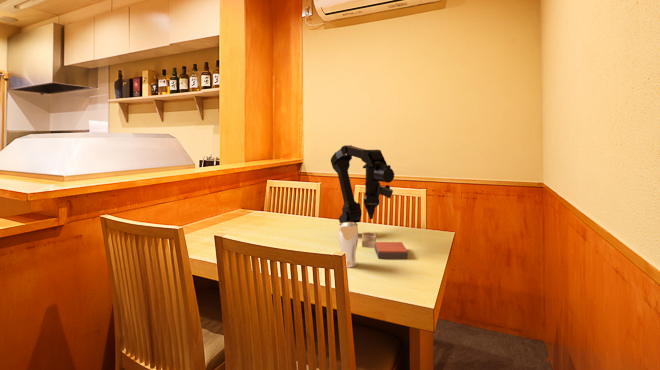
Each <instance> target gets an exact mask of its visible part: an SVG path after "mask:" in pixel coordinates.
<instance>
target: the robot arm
mask: <svg viewBox="0 0 660 370" xmlns="http://www.w3.org/2000/svg"><path fill="white" fill-rule="evenodd" d="M353 157H355V158H358V159H361V162H363V163H365V164H364V165H363V166H362V169H365V182H364V185H365V188H364V191H365V192H364V196H363V204H364V205H363V206H364V207H365V210H366V212H367V214H368V217H369V220H373V219H374V215H375V210H376V208H377V207H378V206H379V205H380V199H381V198H380V196H384V197H386V199H391V198H392V195H393V192H394V191H393V189H391V186H390V185H389V183H391V182H393V180H394V179H395V171H394V170H393V168H391V165H390V164H387V161H386V160H385V157H384V155H383V153H382V151H381V150H380V149H365V148H361V147H357V146H354V145H352V144H351V145H342V146H341V147H340V149H338V150H337V151H335V152H334V154H333V155H332V156H331V157H330V163H331V167H332V168H333V170H334V172H336V174H337V177H338V181H339V185H340V191H341V195H342V200H343V204H342V205H343V206H342V208H341V212H342V213H341V215H340V216H339V217H338V220H339V221H338V222H339V224H340V223H343V222H354V223H357V224H358V223H360V222H361V219H362V218H361V217H362V216H363V215H362V212H363V211H362V209H361V204H360V202H356V200H355V197H354V193H353V189H352V183H351V179H350V176H349V168H350V165H351V164H350V162H351V161H352V159H353ZM381 182H383V183H386V185H385V186H383V185H381ZM387 183H388V184H387Z"/></svg>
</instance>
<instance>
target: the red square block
mask: <svg viewBox="0 0 660 370" xmlns="http://www.w3.org/2000/svg"><path fill="white" fill-rule="evenodd" d="M374 252H375V253H376V256H377V259H378V260H408V257H409V256H408V252H409V251H408V249H407V248H406V246H405V245H404V243H403V242H402V241H376V242H375V248H374Z"/></svg>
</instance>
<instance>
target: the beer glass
mask: <svg viewBox="0 0 660 370" xmlns="http://www.w3.org/2000/svg"><path fill="white" fill-rule="evenodd" d="M358 225H359V224H358V222H357V223H354V222H343V223H340V222H339V224H338V243H339V248H340V249H339V250H340V253H341V252H345V253H346V259H347V267H348V268H355V267H356V266H357V263H358V262H357V260H356V259H357V258H356V257H357V256H356V254H357V247H358V242H359V226H358Z"/></svg>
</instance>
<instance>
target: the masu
mask: <svg viewBox="0 0 660 370" xmlns="http://www.w3.org/2000/svg"><path fill="white" fill-rule="evenodd" d="M375 242H377V232H370V231H369V232H367V231H366V232H365V231H363V232H362V235H361V247H362V248H370V249H372V248H373V249H375Z"/></svg>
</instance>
